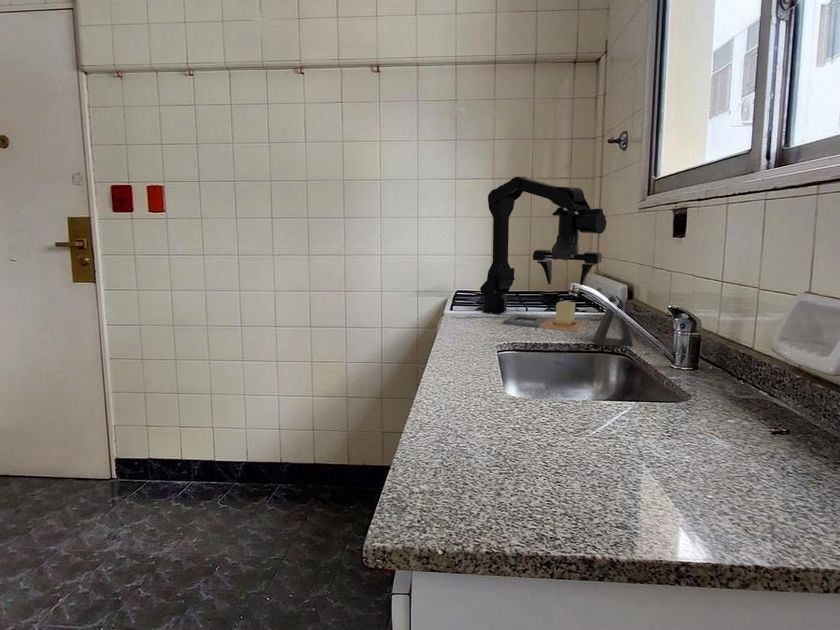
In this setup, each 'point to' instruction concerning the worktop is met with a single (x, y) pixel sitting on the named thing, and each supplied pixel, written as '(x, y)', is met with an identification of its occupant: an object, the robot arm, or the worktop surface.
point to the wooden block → (565, 313)
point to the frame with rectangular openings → (543, 323)
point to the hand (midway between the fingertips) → (565, 285)
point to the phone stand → (605, 326)
